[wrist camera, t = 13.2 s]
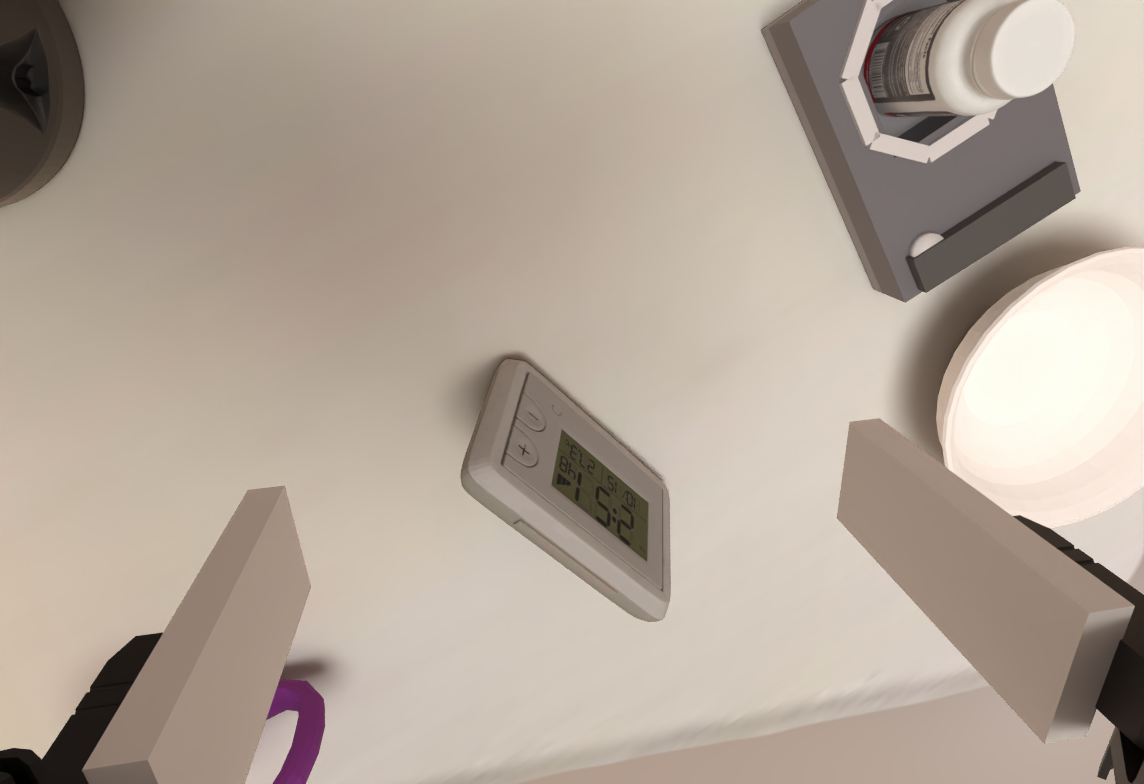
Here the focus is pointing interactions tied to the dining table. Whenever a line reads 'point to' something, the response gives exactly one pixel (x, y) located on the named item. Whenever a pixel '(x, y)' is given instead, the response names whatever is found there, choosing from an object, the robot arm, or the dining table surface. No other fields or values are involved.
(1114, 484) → the bowl
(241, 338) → the dining table surface
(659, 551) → the digital clock
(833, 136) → the octagonal hole plate
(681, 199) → the dining table surface
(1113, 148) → the dining table surface
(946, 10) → the pill bottle
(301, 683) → the mug
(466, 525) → the dining table surface
